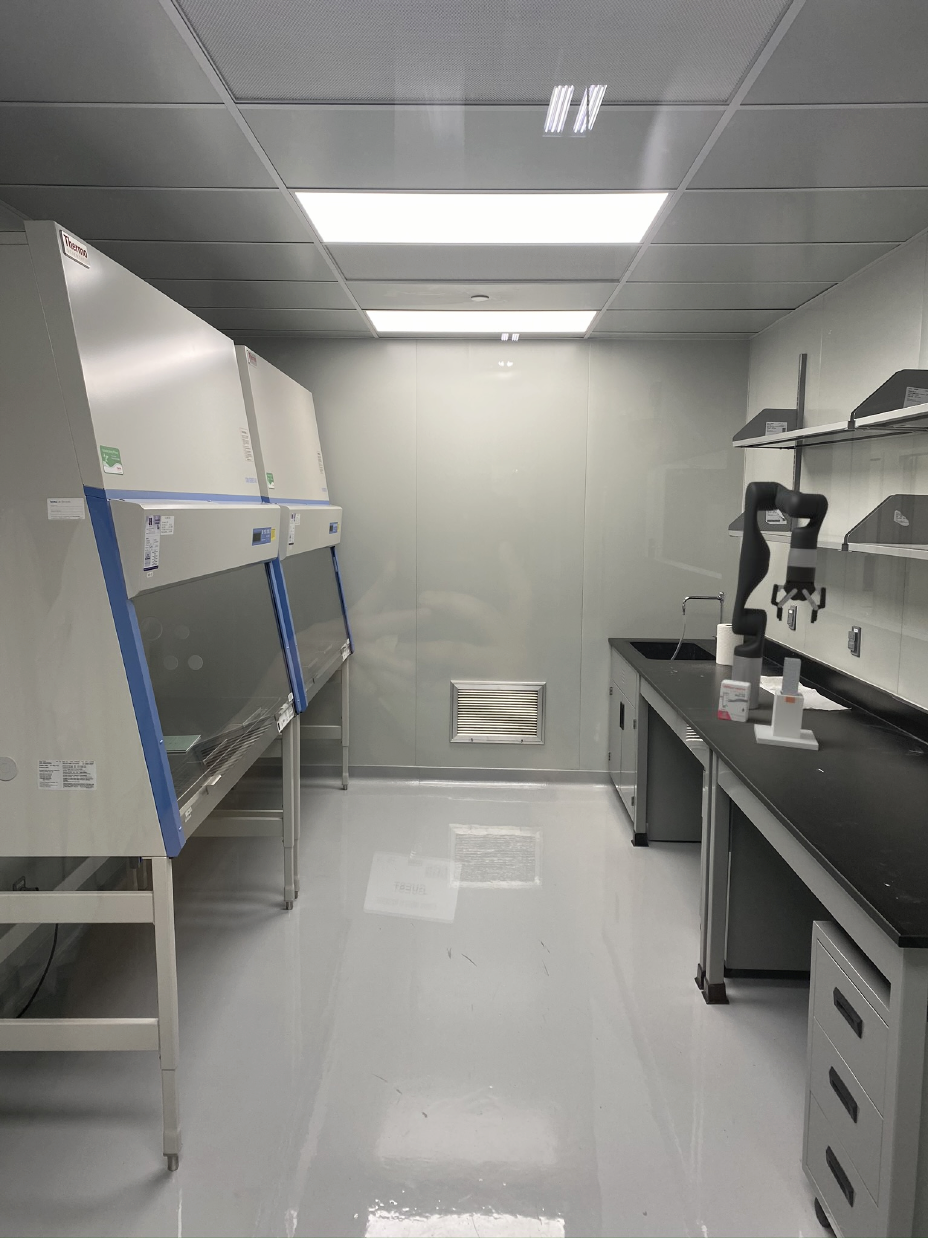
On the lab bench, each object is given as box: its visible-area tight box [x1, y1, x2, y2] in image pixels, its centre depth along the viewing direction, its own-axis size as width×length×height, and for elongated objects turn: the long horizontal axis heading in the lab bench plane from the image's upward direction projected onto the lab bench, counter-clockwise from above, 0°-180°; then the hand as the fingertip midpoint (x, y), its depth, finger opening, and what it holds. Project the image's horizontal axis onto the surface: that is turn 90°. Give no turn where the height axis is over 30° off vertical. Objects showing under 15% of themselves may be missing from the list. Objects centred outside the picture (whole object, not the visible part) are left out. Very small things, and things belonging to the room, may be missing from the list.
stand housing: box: [753, 689, 819, 751], centre depth 234 cm, size 16×16×14 cm
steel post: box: [780, 657, 802, 696], centre depth 234 cm, size 4×4×22 cm
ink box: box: [717, 679, 751, 723], centre depth 256 cm, size 9×5×12 cm, turn 62°
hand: (795, 621), depth 231 cm, fingers open, 8 cm apart
